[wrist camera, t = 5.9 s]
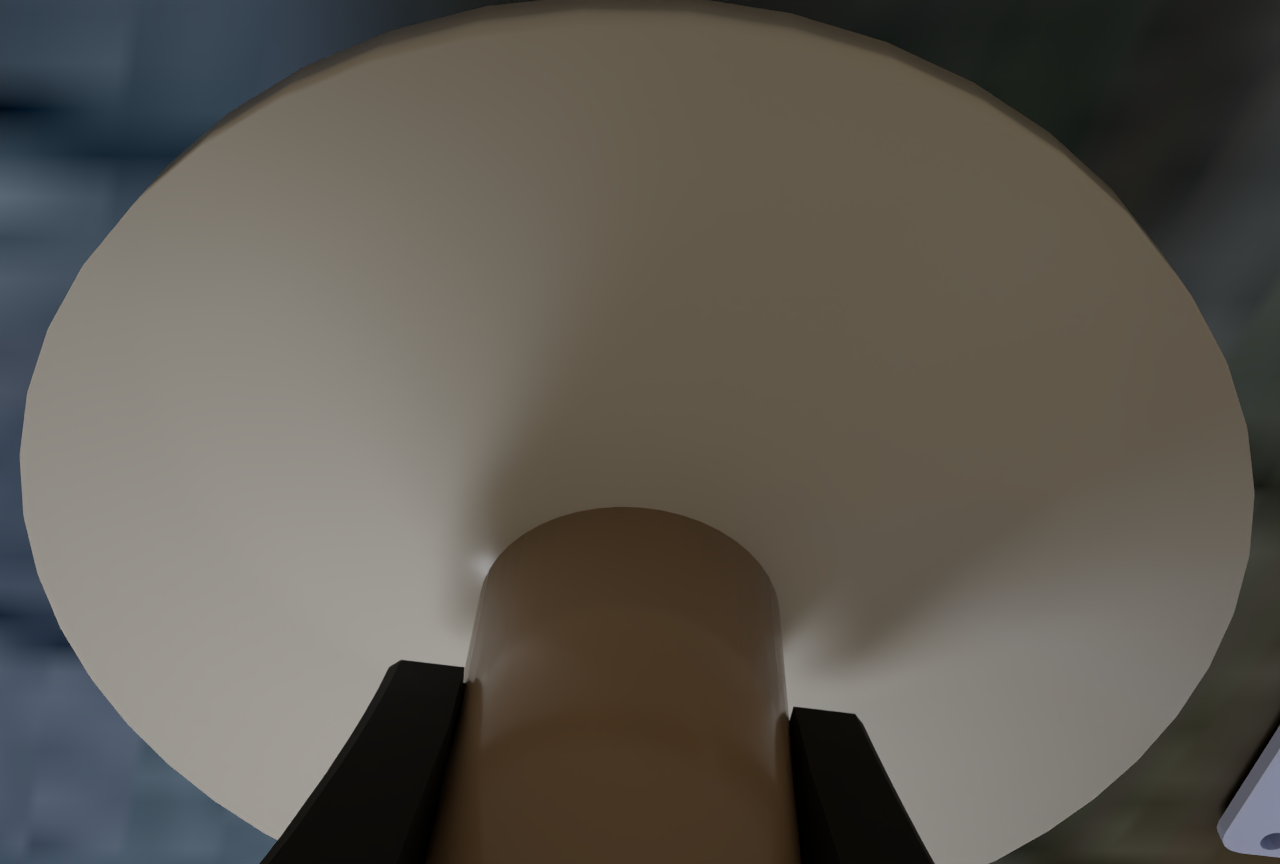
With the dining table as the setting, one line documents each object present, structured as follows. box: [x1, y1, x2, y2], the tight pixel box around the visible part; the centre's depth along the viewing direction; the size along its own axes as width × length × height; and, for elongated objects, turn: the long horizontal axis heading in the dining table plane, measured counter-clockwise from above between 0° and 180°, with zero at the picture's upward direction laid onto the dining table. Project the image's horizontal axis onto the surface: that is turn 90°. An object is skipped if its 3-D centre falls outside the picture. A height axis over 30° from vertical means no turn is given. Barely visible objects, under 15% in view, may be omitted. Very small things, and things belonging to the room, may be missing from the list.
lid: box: [20, 0, 1254, 864], centre depth 11 cm, size 12×12×5 cm
